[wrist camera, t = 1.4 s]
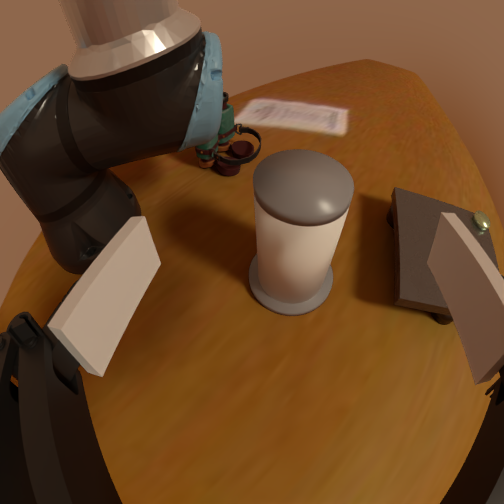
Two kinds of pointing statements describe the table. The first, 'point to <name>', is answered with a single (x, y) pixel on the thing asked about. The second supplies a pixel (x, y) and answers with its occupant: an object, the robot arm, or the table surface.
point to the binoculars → (227, 145)
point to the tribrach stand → (426, 248)
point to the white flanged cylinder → (297, 228)
